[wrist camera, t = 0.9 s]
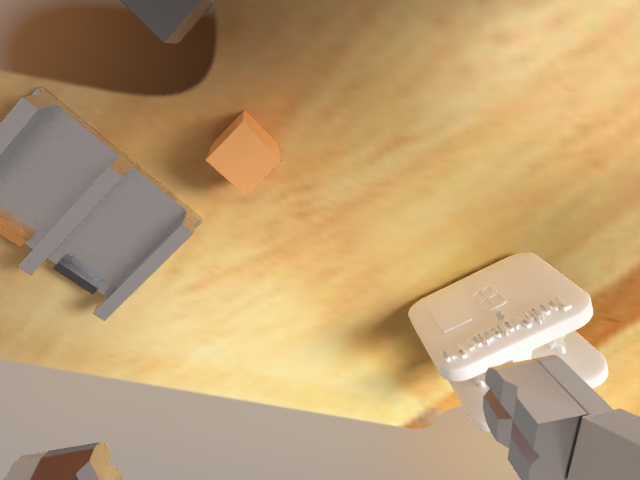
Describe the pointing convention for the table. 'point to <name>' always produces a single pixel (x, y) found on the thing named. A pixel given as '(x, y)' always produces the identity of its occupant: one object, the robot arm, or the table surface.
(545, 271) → the cable organizer
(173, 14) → the dark gray block
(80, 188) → the gray divided tray
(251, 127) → the orange block
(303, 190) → the table surface
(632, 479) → the robot arm
